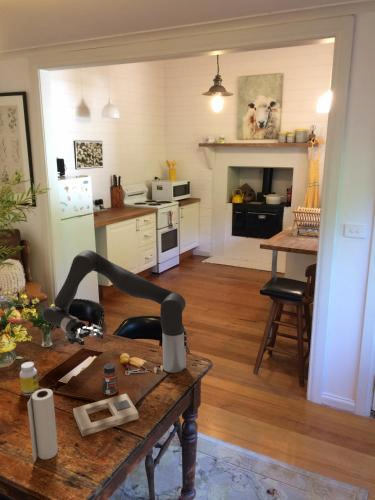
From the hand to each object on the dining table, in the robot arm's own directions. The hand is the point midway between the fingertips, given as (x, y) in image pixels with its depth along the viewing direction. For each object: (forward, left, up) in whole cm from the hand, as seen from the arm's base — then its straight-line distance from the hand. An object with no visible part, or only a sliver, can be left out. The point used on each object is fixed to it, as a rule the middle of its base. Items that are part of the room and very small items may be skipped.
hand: (93, 340), depth 165 cm
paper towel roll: (+25, +33, -19) cm, 46 cm away
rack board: (+3, +24, -18) cm, 31 cm away
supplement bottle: (-3, +10, -19) cm, 22 cm away
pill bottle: (+25, -5, -19) cm, 31 cm away
